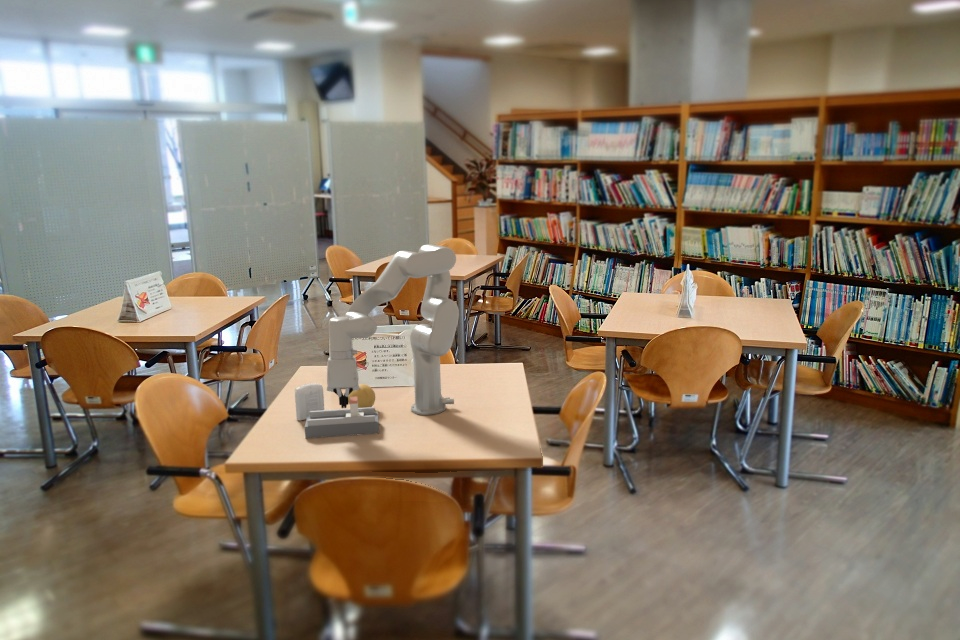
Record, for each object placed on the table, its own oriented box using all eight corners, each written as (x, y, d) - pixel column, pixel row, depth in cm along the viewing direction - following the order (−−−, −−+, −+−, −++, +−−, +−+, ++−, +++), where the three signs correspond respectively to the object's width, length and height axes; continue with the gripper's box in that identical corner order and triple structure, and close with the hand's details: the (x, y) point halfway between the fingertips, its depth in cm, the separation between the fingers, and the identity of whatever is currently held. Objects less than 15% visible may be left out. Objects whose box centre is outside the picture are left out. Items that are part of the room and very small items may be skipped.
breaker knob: (363, 414, 248) (362, 395, 247) (363, 420, 243) (362, 401, 241) (346, 415, 248) (345, 396, 246) (345, 421, 242) (344, 402, 240)
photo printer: (322, 412, 263) (319, 379, 260) (326, 415, 260) (324, 382, 257) (294, 418, 258) (292, 385, 255) (299, 422, 254) (296, 388, 251)
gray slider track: (378, 422, 252) (377, 406, 251) (378, 433, 242) (377, 416, 241) (308, 427, 249) (307, 410, 247) (305, 438, 239) (304, 421, 238)
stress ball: (365, 407, 270) (343, 392, 267) (381, 389, 267) (359, 374, 264) (363, 421, 261) (340, 406, 258) (379, 402, 258) (356, 387, 255)
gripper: (364, 350, 244) (366, 402, 248) (319, 352, 242) (322, 404, 246) (364, 356, 237) (366, 409, 241) (317, 358, 235) (320, 411, 239)
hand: (344, 406), depth 244 cm, fingers closed
